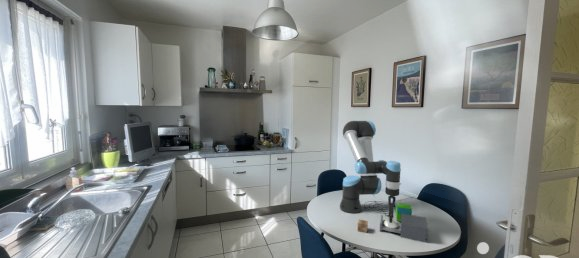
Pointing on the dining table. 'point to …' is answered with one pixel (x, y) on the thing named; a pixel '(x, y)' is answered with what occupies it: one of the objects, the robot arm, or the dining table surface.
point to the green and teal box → (402, 210)
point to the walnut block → (362, 226)
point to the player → (414, 227)
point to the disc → (393, 224)
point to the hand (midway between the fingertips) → (390, 222)
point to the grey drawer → (389, 228)
